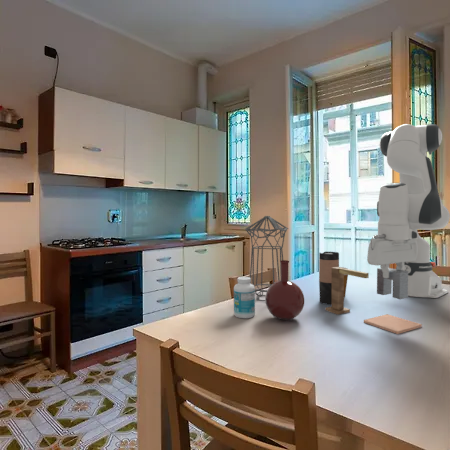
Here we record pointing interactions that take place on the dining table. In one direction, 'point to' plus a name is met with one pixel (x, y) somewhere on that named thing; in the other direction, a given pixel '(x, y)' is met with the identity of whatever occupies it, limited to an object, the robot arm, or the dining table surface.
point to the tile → (392, 323)
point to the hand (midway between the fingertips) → (392, 276)
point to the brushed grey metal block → (398, 283)
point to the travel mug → (327, 275)
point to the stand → (341, 288)
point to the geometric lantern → (275, 225)
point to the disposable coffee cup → (345, 281)
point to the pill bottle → (244, 298)
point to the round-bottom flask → (284, 296)
